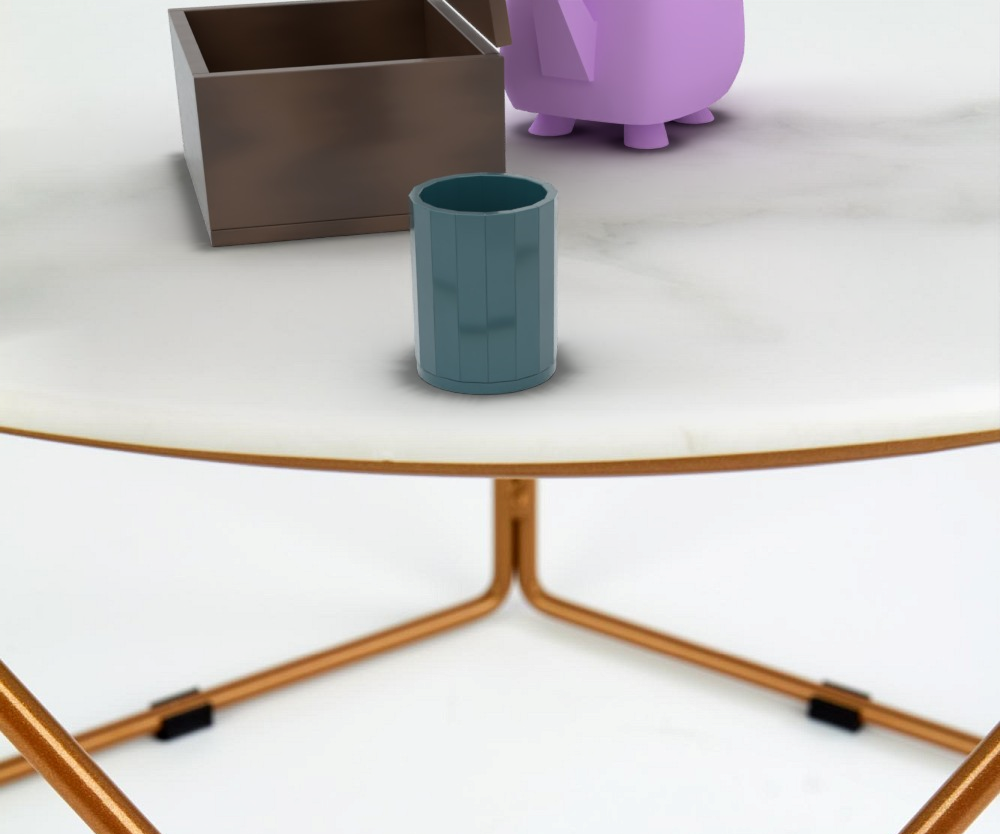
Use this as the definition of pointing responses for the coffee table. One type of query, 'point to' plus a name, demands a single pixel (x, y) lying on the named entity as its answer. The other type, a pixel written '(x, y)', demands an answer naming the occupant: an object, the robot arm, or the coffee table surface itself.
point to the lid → (486, 18)
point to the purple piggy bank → (622, 62)
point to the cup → (484, 281)
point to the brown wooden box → (330, 112)
